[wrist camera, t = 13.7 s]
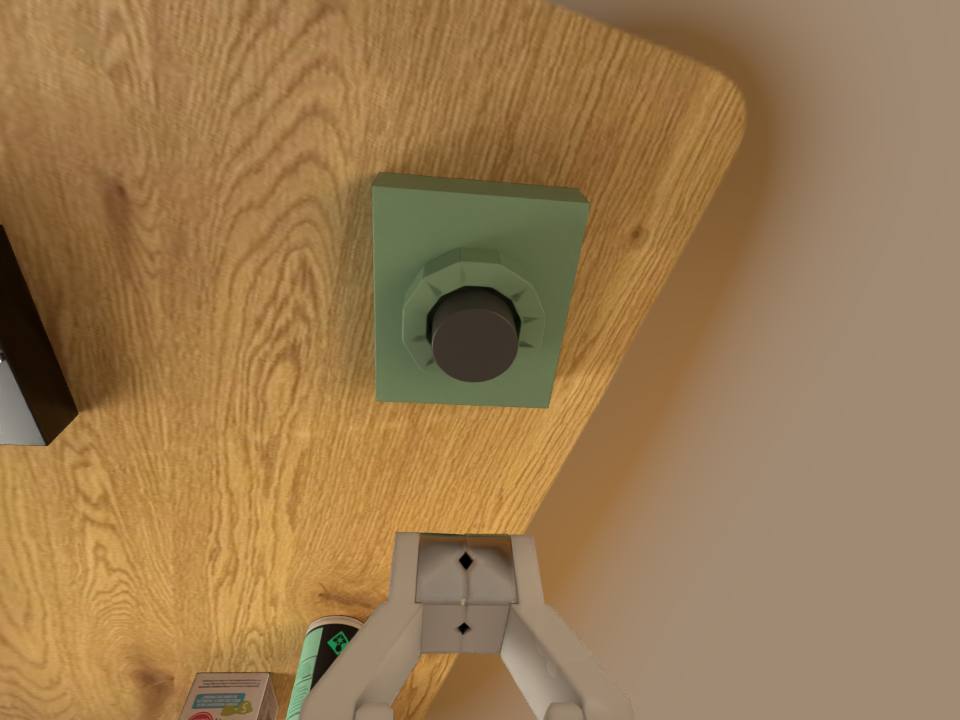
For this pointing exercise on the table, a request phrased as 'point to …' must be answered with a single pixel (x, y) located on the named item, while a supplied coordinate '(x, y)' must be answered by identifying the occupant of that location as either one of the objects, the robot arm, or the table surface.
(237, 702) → the juice carton
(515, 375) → the button base
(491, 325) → the button
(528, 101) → the table surface
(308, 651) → the spray can
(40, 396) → the panel
